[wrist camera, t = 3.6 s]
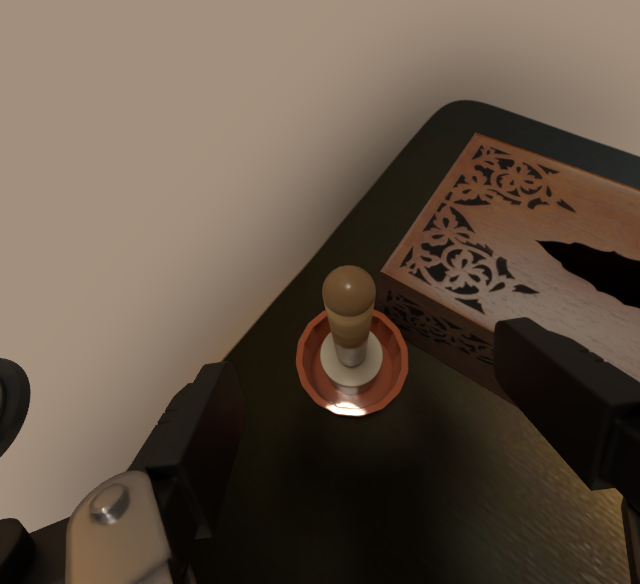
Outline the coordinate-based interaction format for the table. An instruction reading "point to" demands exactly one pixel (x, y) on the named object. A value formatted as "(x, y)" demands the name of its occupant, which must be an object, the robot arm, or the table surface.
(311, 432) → the table surface
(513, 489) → the table surface
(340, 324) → the tan piece
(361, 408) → the brush holder
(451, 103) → the table surface
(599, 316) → the tissue box cover
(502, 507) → the table surface
